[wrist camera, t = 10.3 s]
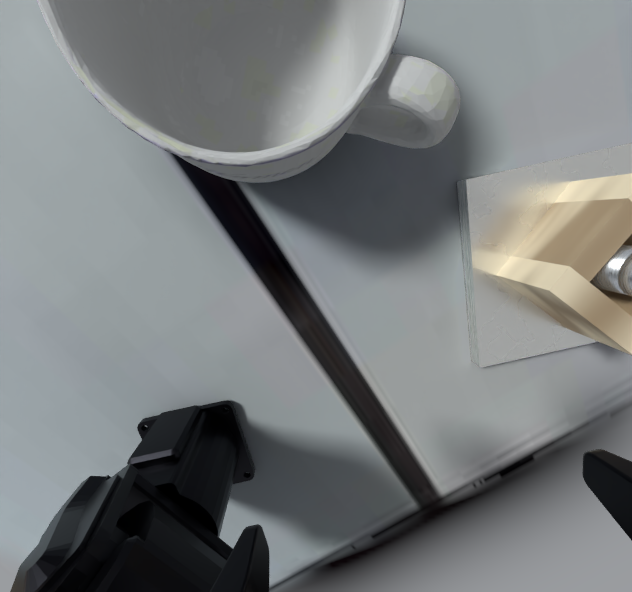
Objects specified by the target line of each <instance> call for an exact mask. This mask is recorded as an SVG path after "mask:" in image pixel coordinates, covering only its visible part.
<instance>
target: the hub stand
mask: <svg viewBox="0 0 632 592" xmlns="http://www.w3.org/2000/svg"><path fill="white" fill-rule="evenodd" d="M630 173H632V143H629V144H625V145H620V146H616V147H611V148H607V149H602V150H598V151H593V152H589V153H584V154H580V155H575V156H571V157H566V158H561V159H557V160H552V161H548V162H543V163H539V164H534V165H530V166H525V167H521V168H516V169H512V170H507V171H503V172H498V173H494V174H489V175H485V176H480V177H475V178H471V179H466V180H462V181H458V182H457V190H458V202H459V214H460V227H461V239H462V251H463V264H464V276H465V288H466V301H467V313H468V325H469V338H470V350H471V361H472V362H473V363H474V364H476V365H477V366H478V367H479V368H482V367H486V366H491V365H495V364H500V363H504V362H509V361H513V360H518V359H522V358H527V357H532V356H536V355H541V354H545V353H550V352H554V351H559V350H563V349H568V348H572V347H577V346H581V345H586V344H590V343H595V342H598V341H596V340H594V339H591V338H589V337H586V336H584V335H581V334H579V333H577V332H574V331H572V330H569V329H567V328H566V327H564V326H563V325H562V324H560V323H559V322H558V321H556V320H555V319H554V318H552V317H551V316H550V315H548V314H547V313H546V312H544V311H543V310H542V309H540V308H539V307H538V306H536V305H535V304H534V303H532V302H531V301H530V300H528V299H527V298H526V297H524V296H523V295H522V294H520V293H519V292H518V291H516V290H515V289H514V288H512V287H511V286H510V285H508V284H507V283H506V282H504V281H503V280H502V279H500V278H499V277H498V276H496V274H497V273H498V272H499V271H500V269H501V268H502V267H503V266H504V264H505V263H506V262H507V261H508V260H509V258H510V257H511V256H512V255H513V253H514V252H515V251H516V250H517V248H518V247H519V246H520V245H521V243H522V242H523V241H524V240H525V238H526V237H527V236H528V235H529V233H530V232H531V231H532V230H533V228H534V227H535V226H536V225H537V223H538V222H539V221H540V220H541V219H542V217H543V216H544V215H545V214H546V212H547V211H548V210H549V209H550V207H551V206H552V205H553V204H554V202H555V201H556V200H557V199H558V197H559V196H560V195H561V194H562V192H563V191H564V190H565V189H566V187H567V186H568V185H569V184H570V182H571V181H579V180H586V179H593V178H601V177H608V176H616V175H623V174H630ZM590 283H591V284H592V285H593V286H595V287H596V288H599V289H604V290H608V291H612V292H617V293H621V294H625V295H629V296H632V246H630V245H622V246H621V247H620V248H619V249H618V250H617V251H616V253H615V254H614V255H613V256H612V257H611V258H610V259H609V260H608V262H607V263H606V264H605V265H604V266H603V267H602V268H601V270H600V271H599V272H598V273H597V274H596V275H595V276H594V278H593V279H592V280H591V281H590Z"/></svg>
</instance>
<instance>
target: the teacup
mask: <svg viewBox="0 0 632 592" xmlns="http://www.w3.org/2000/svg"><path fill="white" fill-rule="evenodd" d="M37 2H38V5H39V7H40V9H41V11H42V14H43V17H44V20H45V22H46V24H47V25H48V27H49V29H50V31H51V33H52V35H53V37H54V40H55V42H56V44H57V46H58V47H59V49H60V51H61V52H62V54H63V56H64V57H65V59H66V60H67V62H68V64H69V65H70V67H71V68H72V69H73V71H74V72H75V74H76V75H77V76H78V78H79V79H80V80H81V82H82V83H83V84H84V85H85V87H86V88H87V89H88V90H89V91H90V93H91V94H92V95H93V96H94V98H95V99H96V100H97V101H98V102H99V103H101V104H102V105H103V106H104V107H105V108H106V109H107V110H108V111H109V112H110V113H111V114H112V115H113V116H115V117H116V118H117V119H118V120H119V121H120V122H122V123H123V124H124V125H125V126H126V127H127V128H128V129H130V130H132V131H134V132H135V133H137V134H138V135H140V136H141V137H142V138H144V139H145V140H147V141H149V142H151V143H152V144H154V145H156V146H158V147H160V148H162V149H164V150H165V151H168V152H170V153H173V154H176V155H178V156H179V157H181V158H183V159H184V160H186V161H188V162H189V163H191V164H193V165H195V166H197V167H199V168H201V169H203V170H205V171H207V172H210V173H212V174H214V175H217V176H220V177H223V178H226V179H230V180H234V181H241V182H250V183H263V182H273V181H278V180H282V179H285V178H289V177H292V176H295V175H297V174H299V173H301V172H303V171H305V170H307V169H308V168H310V167H311V166H313V165H314V164H316V163H317V162H319V161H320V160H321V159H322V158H323V157H325V156H326V155H327V154H328V153H329V152H330V151H331V150H332V149H333V148H334V146H335V145H336V144H337V143H338V142H339V140H340V139H341V138H342V137H343V135H344V134H345V133H349V134H358V135H363V136H366V137H369V138H372V139H375V140H379V141H382V142H386V143H389V144H393V145H397V146H402V147H407V148H411V149H419V148H429V147H432V146H435V145H437V144H438V143H440V142H441V141H442V140H443V139H444V138H445V137H446V135H447V134H448V133H449V132H450V130H451V128H452V126H453V124H454V122H455V120H456V117H457V114H458V112H459V108H460V93H459V89H458V87H457V85H456V83H455V81H454V79H453V78H452V77H451V76H450V75H449V74H448V73H447V72H446V71H445V70H444V69H442V68H441V67H439V66H437V65H436V64H434V63H432V62H430V61H428V60H425V59H421V58H418V57H413V56H407V55H401V54H391V52H392V50H393V47H394V45H395V42H396V39H397V36H398V33H399V29H400V26H401V22H402V18H403V13H404V8H405V2H406V0H37ZM393 106H396V107H393ZM397 107H398V108H397Z"/></svg>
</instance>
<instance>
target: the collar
mask: <svg viewBox="0 0 632 592" xmlns="http://www.w3.org/2000/svg"><path fill="white" fill-rule="evenodd" d="M622 245H630V246H632V173H630V174H623V175H616V176H608V177H601V178H593V179H586V180H579V181H571V182H570V184H569V185H568V186H567V187H566V189H565V190H564V191H563V192H562V194H561V195H560V196H559V197H558V199H557V200H556V201H555V202H554V204H553V205H552V206H551V207H550V209H549V210H548V211H547V212H546V214H545V215H544V216H543V217H542V219H541V220H540V221H539V222H538V223H537V225H536V226H535V227H534V228H533V230H532V231H531V232H530V233H529V235H528V236H527V237H526V238H525V240H524V241H523V242H522V243H521V245H520V246H519V247H518V248H517V250H516V251H515V252H514V253H513V255H512V256H511V257H510V258H509V260H508V261H507V262H506V263H505V264H504V266H503V267H502V268H501V269H500V271H499V272H498V273H497V274H496V276H498V277H499V278H500V279H502V280H503V281H504V282H506V283H507V284H508V285H510V286H511V287H512V288H514V289H515V290H516V291H518V292H519V293H520V294H522V295H523V296H524V297H526V298H527V299H528V300H530V301H531V302H532V303H534V304H535V305H536V306H538V307H539V308H540V309H542V310H543V311H544V312H546V313H547V314H548V315H550V316H551V317H552V318H554V319H555V320H556V321H558V322H559V323H560V324H562V325H563V326H564V327H566V328H567V329H569V330H572V331H574V332H577V333H579V334H581V335H584V336H586V337H589V338H591V339H594V340H596V341H598V342H601V343H603V344H606V345H608V346H611V347H613V348H615V349H618V350H620V351H623V352H625V353H628V354H630V355H632V296H629V295H625V294H621V293H617V292H612V291H608V290H604V289H599V288H596V287H595V286H593V285H592V284H591V283H590V281H591V280H592V279H593V278H594V276H595V275H596V274H597V273H598V272H599V271H600V270H601V268H602V267H603V266H604V265H605V264H606V263H607V262H608V260H609V259H610V258H611V257H612V256H613V255H614V254H615V253H616V251H617V250H618V249H619V248H620V247H621V246H622Z"/></svg>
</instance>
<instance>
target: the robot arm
mask: <svg viewBox="0 0 632 592" xmlns="http://www.w3.org/2000/svg"><path fill="white" fill-rule="evenodd" d="M224 407H226V408H228V409H229V410H224V409H223V408H224ZM145 425H147V426H148V427H145ZM137 428H138V431H139V434H140V436H141V438H142V441H141V443H140V444H139V445H138V447H137V448H136V450H135V451H134V453H133V454H132V455H131V457H130V458H129V460H128V462H127V464H128V465H127V466H126V467H124V468H123V469H122V470H121V471H119V472H118V473H117V474H115V475H114V476H113V477H110V476H109V475H108V476H106V477H102V476H90V477H89V478H87V479H86V480H85V481H83V482H82V483H81V484H80V486H79V487H78V488H77V489H76V490H75V492H74V493H73V494H72V495H71V496H70V498H69V499H68V500H67V501H66V503H65V504H64V505H63V506H62V508H61V509H60V510H59V511H58V513H57V514H56V516H55V517H54V518H53V520H52V521H51V523H50V524H49V526H48V528H47V530H46V531H45V533H44V534H43V535H42V537H41V540H40V542H39V544H38V545H37V546H36V548H35V549H34V550H33V551H32V552H31V553H30V554H29V556H28V557H27V558H26V559H25V560H24V562H23V563H22V564H21V566H20V567H19V570H18V572H17V575H16V578H15V581H14V583H13V586H12V589H11V591H10V592H269V548H268V544H267V541H266V538H265V535H264V532H263V529H262V527H261V526H260V525H258V524H257V525H253V526H248V527H246V528H245V529H244V530H243V532H242V534H241V536H240V538H239V539H238V541H237V543H236V545H235V547H234V549H233V548H231V547H230V546H229V545H227V544H226V543H225V542H224V541H222V540H221V539H220V538H219V536H220V532H221V528H222V524H223V520H224V516H225V512H226V508H227V504H228V500H229V496H230V492H231V488H232V484H235V483H239V482H244V481H248V480H251V479H252V478H253V477H254V473H255V469H254V466H253V463H252V460H251V457H250V453H249V450H248V447H247V444H246V441H245V438H244V435H243V432H242V429H241V426H240V423H239V420H238V417H237V414H236V411H235V408H234V405H233V404H232V403H231V402H230V401H221V402H217V403H212V404H208V405H203V406H191V407H187V408H182V409H178V410H173V411H169V412H164V413H161V414H160V415H158V416H153V417H149V418H145V419H143V420H142V421H141V422H140V423H139V425H138V427H137ZM246 472H249V473H246ZM583 478H584V480H585V482H586V484H587V485H588V487H589V488H590V489H591V491H593V493H594V494H595V495H596V497H597V498H598V499H599V500H600V502H601V503H602V504H603V505H604V507H605V508H606V509H607V510H608V511H609V513H610V514H611V515H612V517H613V518H614V519H615V520H616V522H617V523H618V524H619V525H620V526H621V528H622V529H623V530H624V531H625V533H626V534H627V535H628V536H629V538H630V539H631V540H632V462H631V461H629V460H626V459H624V458H622V457H619V456H617V455H615V454H612V453H610V452H607V451H605V450H601V449H596V450H592V451H588V452H585V453H584V456H583Z"/></svg>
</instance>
